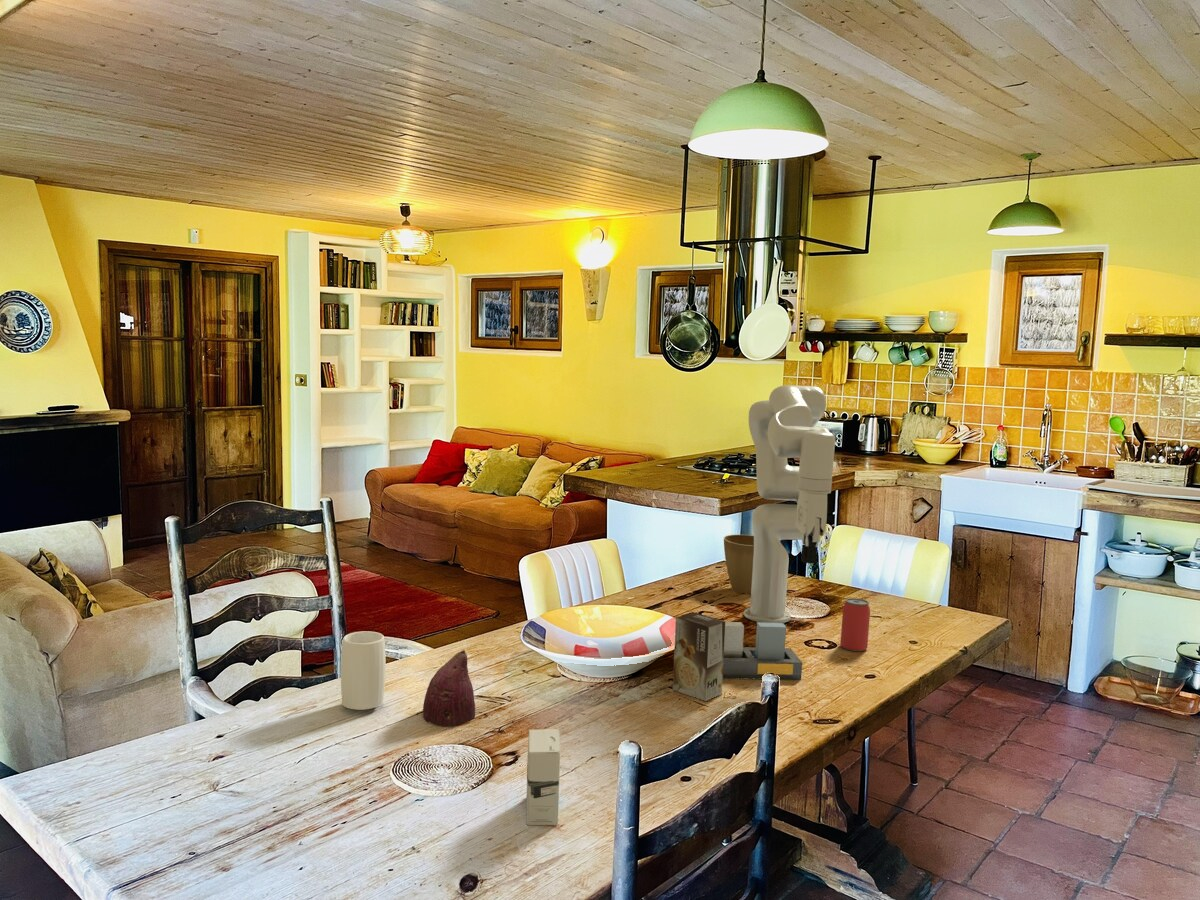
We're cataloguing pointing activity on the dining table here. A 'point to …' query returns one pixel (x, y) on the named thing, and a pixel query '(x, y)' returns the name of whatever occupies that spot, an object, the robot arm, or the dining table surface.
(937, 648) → the dining table surface
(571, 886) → the dining table surface
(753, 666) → the rack
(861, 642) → the beer can
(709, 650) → the coffee box
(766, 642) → the block
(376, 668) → the cup
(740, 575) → the plant pot
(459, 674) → the vegetable
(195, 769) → the dining table surface
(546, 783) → the ink box
